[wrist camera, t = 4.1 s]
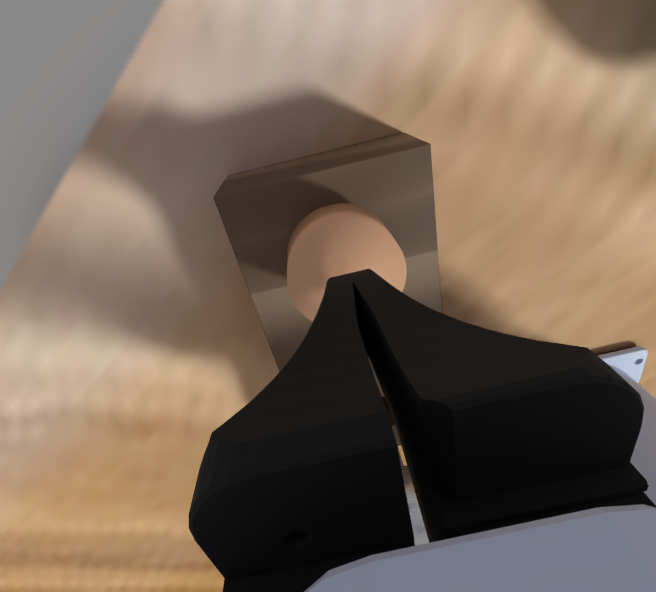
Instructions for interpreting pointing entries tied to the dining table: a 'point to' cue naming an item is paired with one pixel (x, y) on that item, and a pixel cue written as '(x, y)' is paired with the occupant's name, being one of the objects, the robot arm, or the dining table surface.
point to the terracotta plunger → (339, 252)
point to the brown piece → (318, 191)
